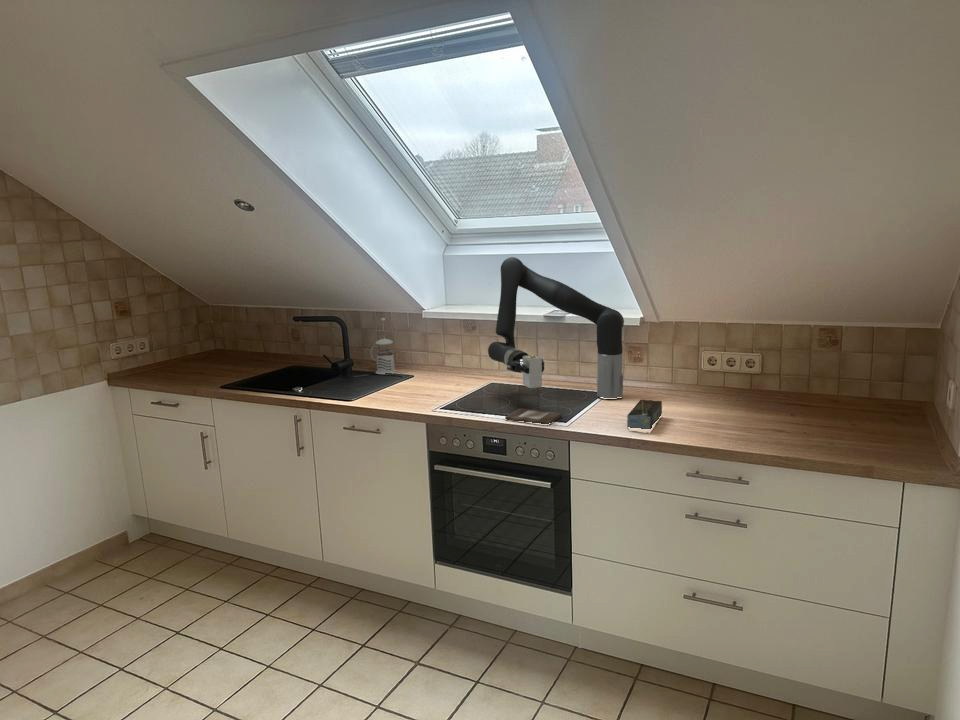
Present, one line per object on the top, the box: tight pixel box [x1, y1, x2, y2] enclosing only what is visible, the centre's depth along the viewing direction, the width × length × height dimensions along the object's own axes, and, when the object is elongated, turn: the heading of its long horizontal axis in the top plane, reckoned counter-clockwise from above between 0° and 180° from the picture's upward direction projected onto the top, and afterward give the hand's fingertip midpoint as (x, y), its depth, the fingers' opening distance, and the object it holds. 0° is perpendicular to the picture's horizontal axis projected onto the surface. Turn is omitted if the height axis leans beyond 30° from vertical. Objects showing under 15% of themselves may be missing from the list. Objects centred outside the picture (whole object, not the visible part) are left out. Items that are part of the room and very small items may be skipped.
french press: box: [369, 317, 397, 375], centre depth 312 cm, size 10×12×25 cm
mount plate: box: [504, 407, 563, 424], centre depth 238 cm, size 16×12×1 cm
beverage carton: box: [626, 399, 663, 429], centre depth 228 cm, size 8×19×7 cm, turn 155°
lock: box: [522, 354, 543, 389], centre depth 235 cm, size 4×6×11 cm
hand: (535, 370), depth 232 cm, fingers closed on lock, 4 cm apart
